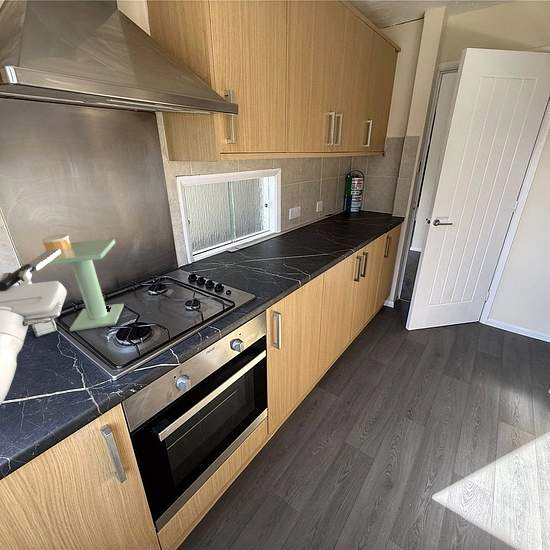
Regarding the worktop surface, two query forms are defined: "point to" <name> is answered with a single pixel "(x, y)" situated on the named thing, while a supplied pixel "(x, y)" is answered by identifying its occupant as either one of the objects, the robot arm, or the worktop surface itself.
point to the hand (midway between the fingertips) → (17, 273)
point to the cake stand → (86, 278)
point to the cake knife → (29, 268)
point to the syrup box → (44, 328)
